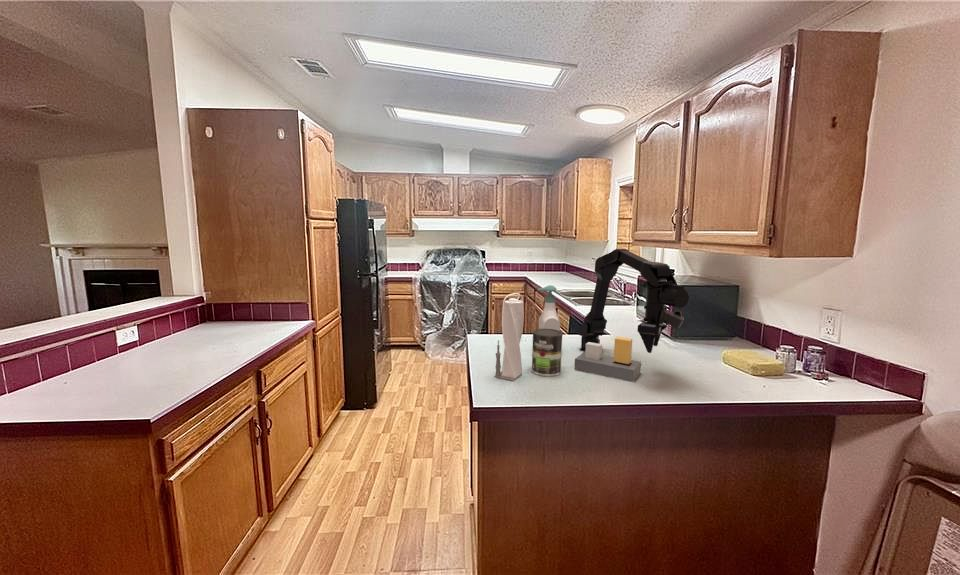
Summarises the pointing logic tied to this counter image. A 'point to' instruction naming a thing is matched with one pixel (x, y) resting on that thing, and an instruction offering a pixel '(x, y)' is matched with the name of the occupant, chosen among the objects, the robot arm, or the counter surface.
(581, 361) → the block
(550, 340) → the coffee can
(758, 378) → the counter surface
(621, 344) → the amber plug
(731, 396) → the counter surface
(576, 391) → the counter surface
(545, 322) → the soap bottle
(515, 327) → the skyscraper
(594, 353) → the white rectangular block
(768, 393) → the counter surface
